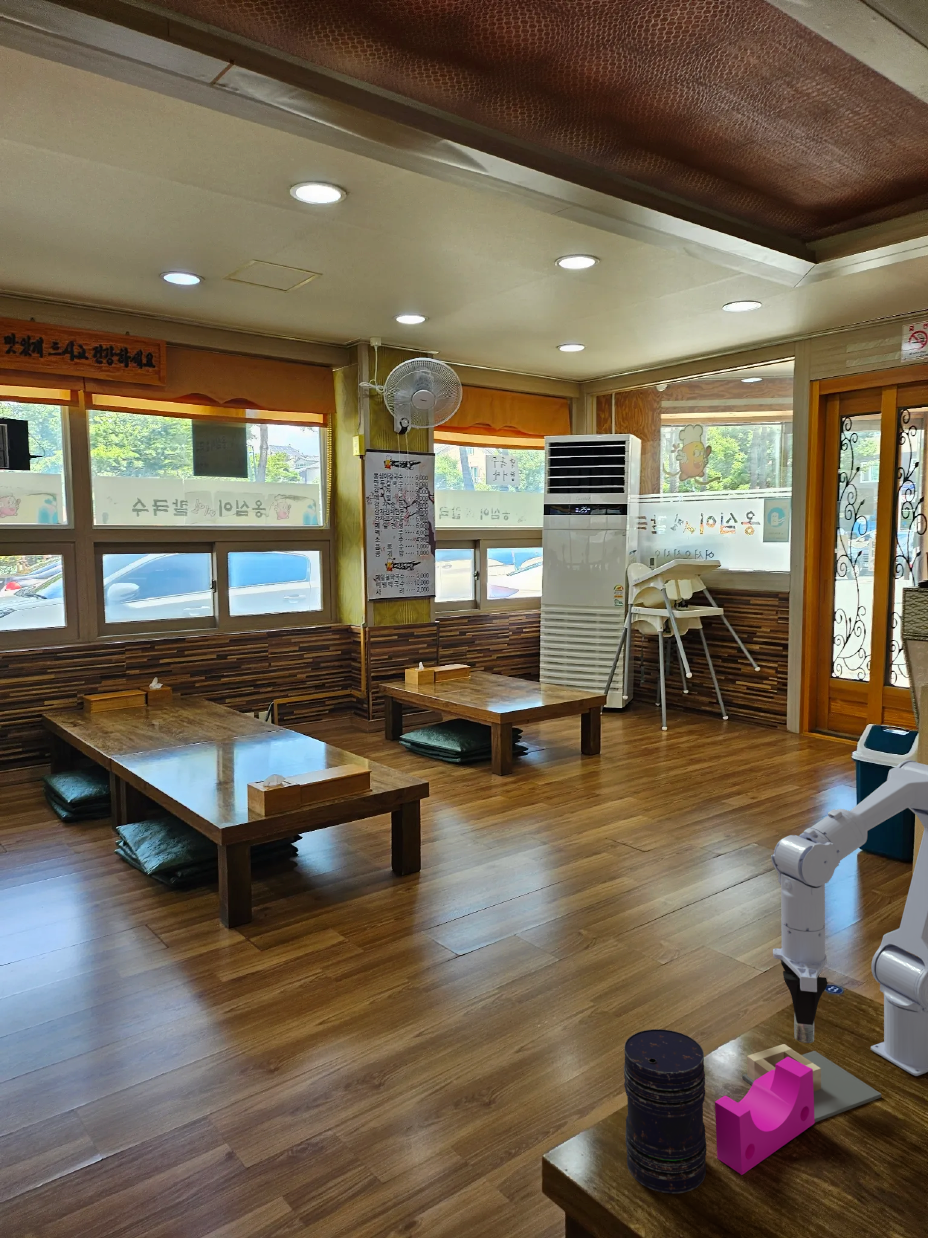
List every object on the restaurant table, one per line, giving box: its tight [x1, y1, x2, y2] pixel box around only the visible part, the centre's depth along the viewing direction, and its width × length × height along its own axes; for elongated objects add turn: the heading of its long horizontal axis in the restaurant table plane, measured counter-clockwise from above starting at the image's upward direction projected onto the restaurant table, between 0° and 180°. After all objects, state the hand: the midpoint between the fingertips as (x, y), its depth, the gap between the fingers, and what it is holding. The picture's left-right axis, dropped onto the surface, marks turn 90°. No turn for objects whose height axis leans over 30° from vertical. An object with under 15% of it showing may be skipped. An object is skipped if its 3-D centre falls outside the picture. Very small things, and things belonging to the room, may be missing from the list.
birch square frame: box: [746, 1043, 821, 1092], centre depth 123 cm, size 7×7×3 cm
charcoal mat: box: [741, 1050, 882, 1123], centre depth 122 cm, size 14×12×1 cm
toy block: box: [714, 1057, 816, 1176], centre depth 112 cm, size 15×6×8 cm, turn 125°
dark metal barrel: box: [623, 1028, 707, 1194], centre depth 107 cm, size 10×10×15 cm
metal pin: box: [793, 1012, 815, 1044], centre depth 121 cm, size 3×3×8 cm
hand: (803, 1017), depth 121 cm, fingers closed on metal pin, 3 cm apart
